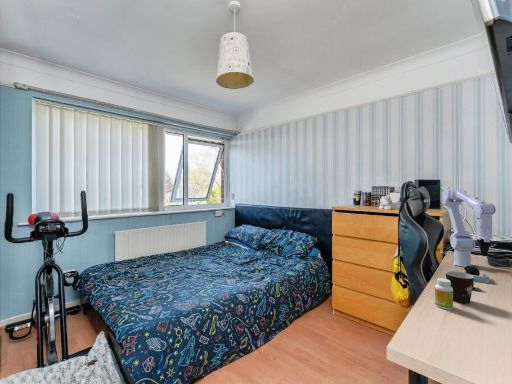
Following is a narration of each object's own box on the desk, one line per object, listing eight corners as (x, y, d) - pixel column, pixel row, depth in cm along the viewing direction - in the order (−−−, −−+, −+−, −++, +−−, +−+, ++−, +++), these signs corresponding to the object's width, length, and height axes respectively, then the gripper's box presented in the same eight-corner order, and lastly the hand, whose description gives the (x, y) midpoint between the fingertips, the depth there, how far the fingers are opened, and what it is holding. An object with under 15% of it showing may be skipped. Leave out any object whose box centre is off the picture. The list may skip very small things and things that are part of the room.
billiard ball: (482, 280, 119) (482, 268, 118) (467, 279, 120) (467, 267, 120) (475, 276, 124) (475, 264, 124) (460, 275, 126) (460, 263, 126)
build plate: (449, 288, 111) (449, 278, 111) (448, 283, 117) (448, 273, 117) (487, 295, 104) (487, 284, 104) (484, 289, 110) (484, 278, 110)
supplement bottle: (448, 311, 89) (448, 283, 89) (431, 305, 94) (431, 278, 94) (456, 307, 91) (456, 281, 91) (439, 302, 96) (439, 276, 96)
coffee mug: (463, 296, 101) (463, 271, 101) (480, 305, 93) (480, 278, 93) (432, 294, 103) (432, 270, 103) (446, 304, 94) (446, 277, 94)
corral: (455, 273, 128) (455, 268, 128) (485, 278, 122) (485, 273, 122) (457, 278, 122) (457, 273, 121) (489, 283, 115) (489, 278, 115)
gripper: (471, 224, 135) (471, 250, 135) (476, 228, 123) (476, 256, 123) (489, 226, 131) (489, 252, 131) (495, 229, 119) (495, 258, 119)
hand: (484, 254), depth 127 cm, fingers closed
